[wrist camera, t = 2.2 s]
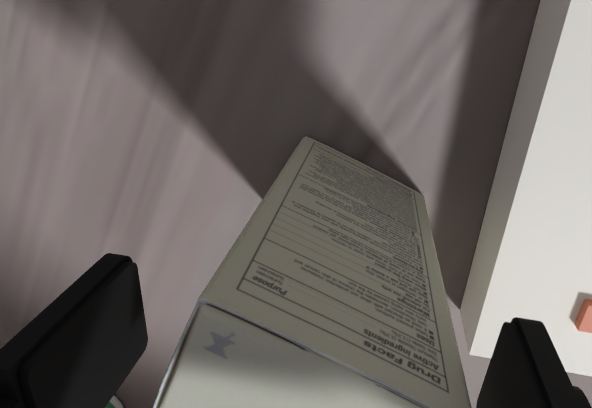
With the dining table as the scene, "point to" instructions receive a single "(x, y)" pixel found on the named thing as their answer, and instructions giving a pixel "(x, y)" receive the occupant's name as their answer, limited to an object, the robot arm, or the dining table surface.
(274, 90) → the dining table surface
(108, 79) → the dining table surface
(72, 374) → the robot arm
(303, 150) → the skincare box
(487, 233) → the socket plate
